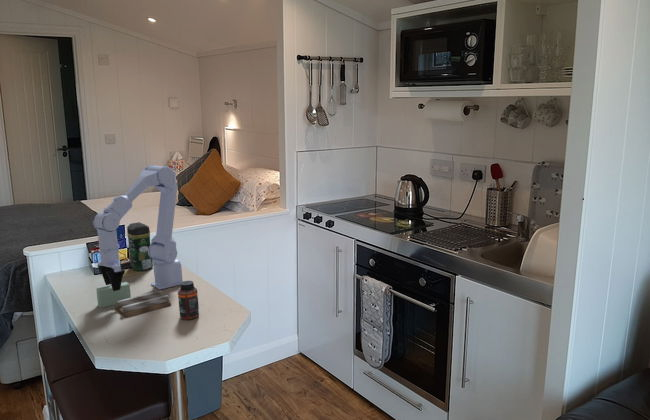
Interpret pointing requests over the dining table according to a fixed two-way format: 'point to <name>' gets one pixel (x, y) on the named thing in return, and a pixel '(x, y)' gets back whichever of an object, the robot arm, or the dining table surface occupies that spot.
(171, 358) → the dining table surface
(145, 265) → the coffee jar
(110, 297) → the pale green block
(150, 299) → the brown shallow piece
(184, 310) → the supplement bottle
